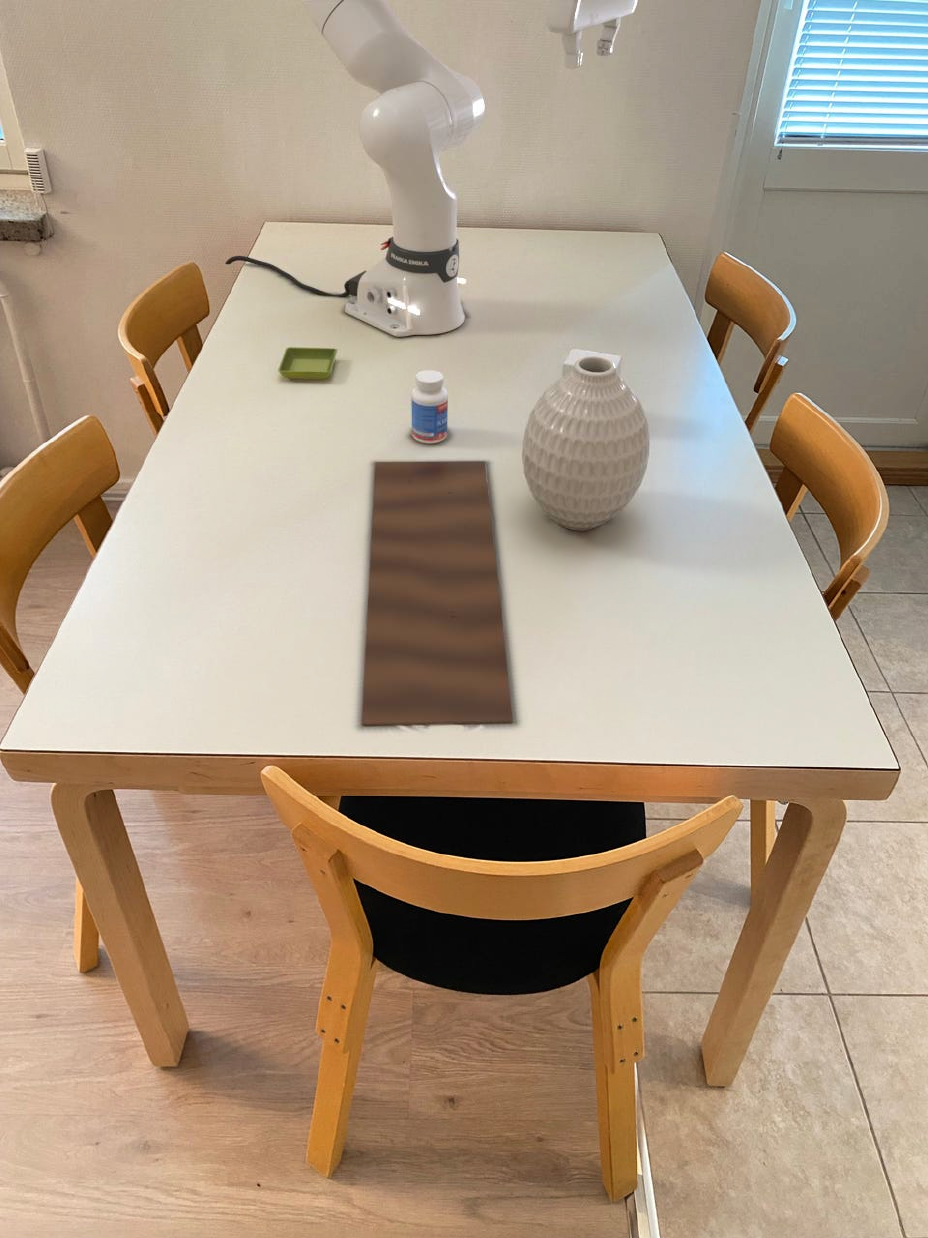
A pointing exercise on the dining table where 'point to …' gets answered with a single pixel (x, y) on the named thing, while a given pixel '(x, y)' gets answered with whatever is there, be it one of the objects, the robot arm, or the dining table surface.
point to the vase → (586, 446)
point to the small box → (579, 354)
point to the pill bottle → (429, 407)
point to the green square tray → (307, 363)
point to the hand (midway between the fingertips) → (588, 60)
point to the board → (434, 599)
